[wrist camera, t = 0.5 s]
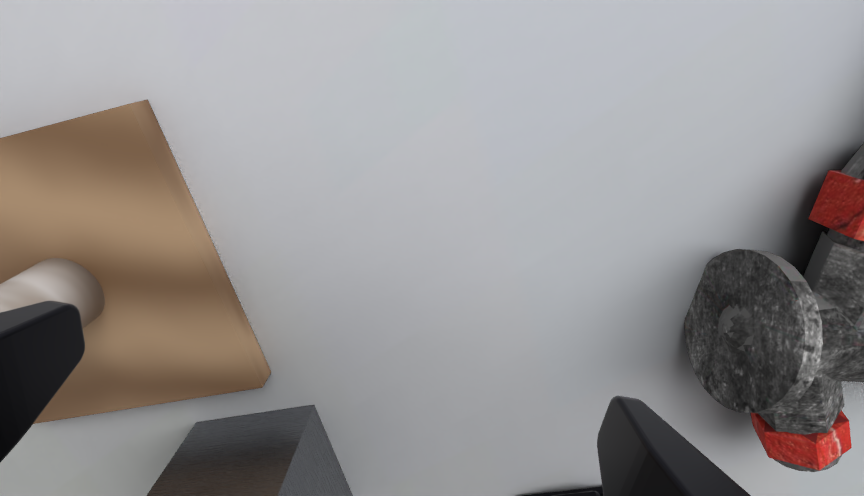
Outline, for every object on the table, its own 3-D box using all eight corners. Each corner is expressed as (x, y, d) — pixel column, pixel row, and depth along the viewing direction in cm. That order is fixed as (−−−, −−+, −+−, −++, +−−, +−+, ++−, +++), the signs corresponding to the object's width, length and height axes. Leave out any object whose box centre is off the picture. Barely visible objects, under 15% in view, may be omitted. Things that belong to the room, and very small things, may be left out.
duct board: (271, 372, 26) (221, 460, 20) (41, 409, 28) (-57, 497, 22) (147, 99, 20) (36, 125, 15) (-126, 172, 22) (-305, 217, 17)
